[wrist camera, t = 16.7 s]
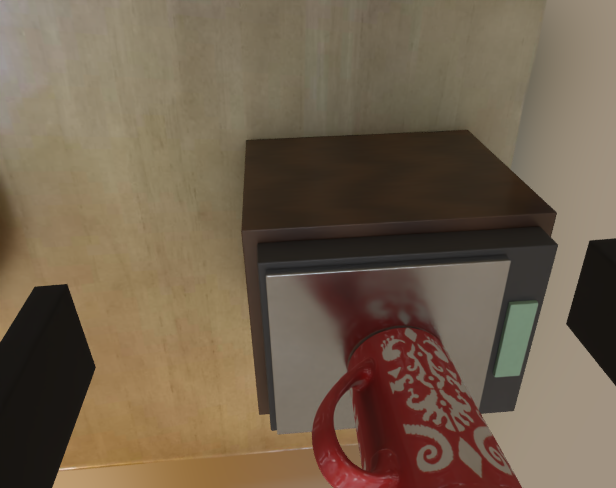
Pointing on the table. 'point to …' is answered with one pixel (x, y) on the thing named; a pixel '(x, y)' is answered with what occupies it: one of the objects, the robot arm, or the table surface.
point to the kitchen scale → (399, 310)
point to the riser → (373, 197)
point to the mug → (408, 421)
